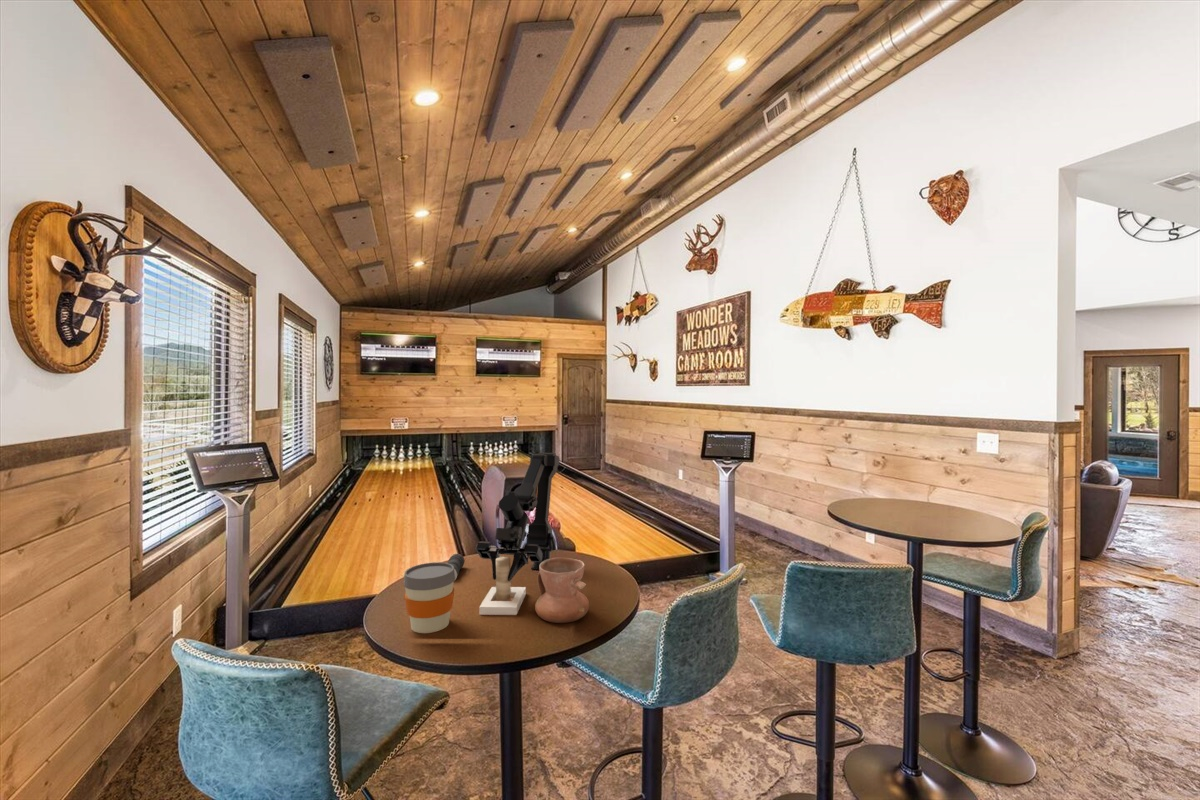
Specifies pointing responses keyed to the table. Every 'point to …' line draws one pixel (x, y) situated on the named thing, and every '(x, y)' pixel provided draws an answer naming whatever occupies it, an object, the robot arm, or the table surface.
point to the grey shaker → (456, 563)
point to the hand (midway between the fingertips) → (501, 579)
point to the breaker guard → (502, 602)
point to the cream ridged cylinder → (503, 579)
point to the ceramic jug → (561, 590)
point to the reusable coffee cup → (429, 595)
